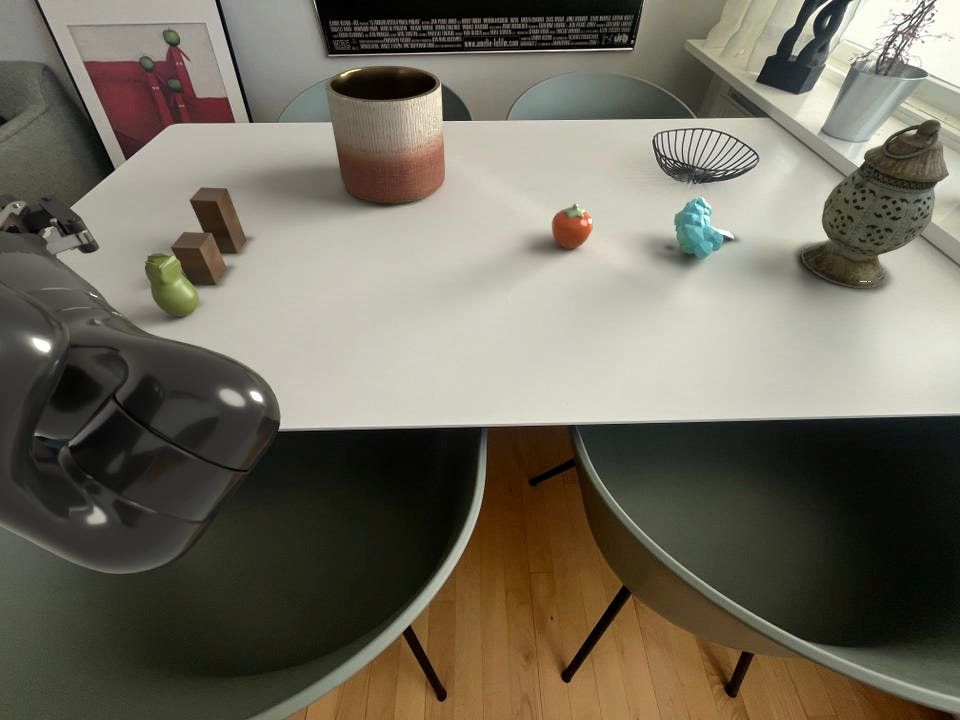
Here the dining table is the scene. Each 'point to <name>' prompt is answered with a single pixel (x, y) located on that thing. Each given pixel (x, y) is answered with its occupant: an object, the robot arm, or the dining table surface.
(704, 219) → the turquoise faceted lumpy piece
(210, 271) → the block near
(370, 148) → the planter
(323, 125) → the dining table surface
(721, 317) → the dining table surface
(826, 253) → the lantern
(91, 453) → the robot arm
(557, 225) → the tomato
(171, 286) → the olive green lumpy piece
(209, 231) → the block far
